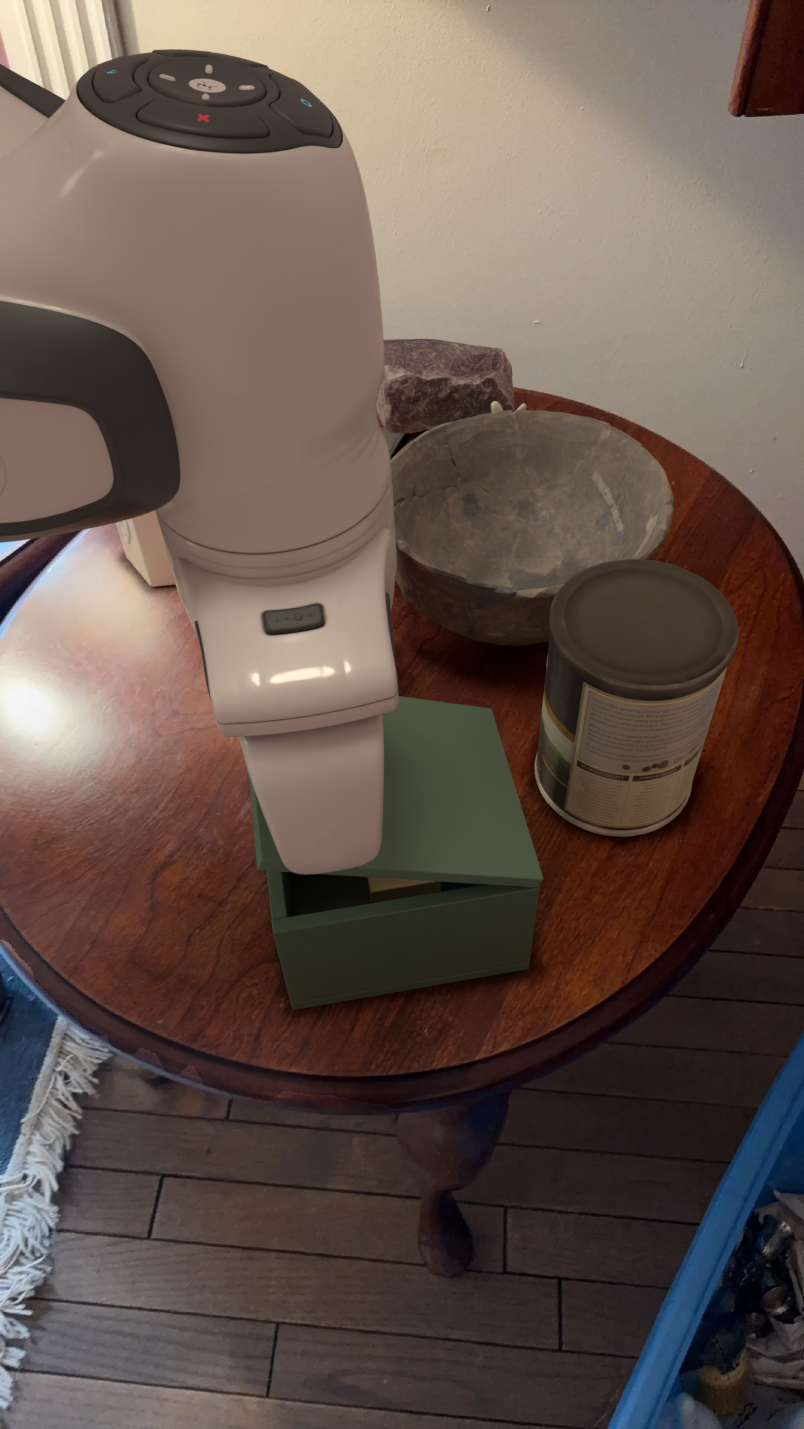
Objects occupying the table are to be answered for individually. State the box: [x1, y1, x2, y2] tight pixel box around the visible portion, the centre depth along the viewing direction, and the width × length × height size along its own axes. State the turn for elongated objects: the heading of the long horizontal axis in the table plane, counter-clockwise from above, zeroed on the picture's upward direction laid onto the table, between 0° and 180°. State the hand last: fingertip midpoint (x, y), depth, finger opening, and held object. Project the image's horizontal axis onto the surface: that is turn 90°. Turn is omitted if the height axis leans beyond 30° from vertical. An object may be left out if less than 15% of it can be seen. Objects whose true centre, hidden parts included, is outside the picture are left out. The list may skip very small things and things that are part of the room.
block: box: [365, 877, 441, 904], centre depth 60 cm, size 4×4×4 cm
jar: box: [115, 510, 176, 588], centre depth 79 cm, size 9×8×12 cm
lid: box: [247, 695, 544, 887], centre depth 52 cm, size 15×12×5 cm
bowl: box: [391, 409, 675, 647], centre depth 75 cm, size 21×21×10 cm
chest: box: [266, 871, 540, 1011], centre depth 59 cm, size 14×12×9 cm
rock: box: [376, 338, 516, 434], centre depth 89 cm, size 14×14×15 cm
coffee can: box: [534, 559, 740, 838], centre depth 63 cm, size 10×10×14 cm
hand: (318, 758), depth 51 cm, fingers closed on lid, 5 cm apart
